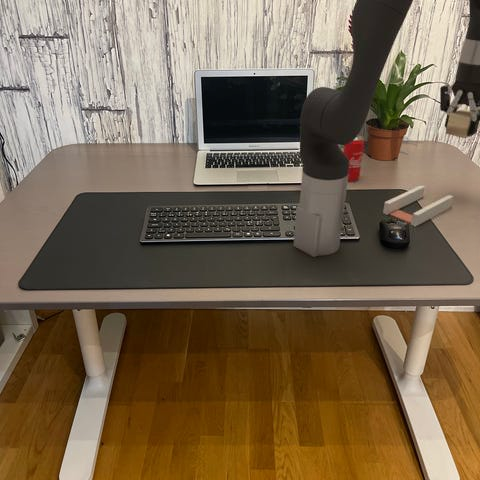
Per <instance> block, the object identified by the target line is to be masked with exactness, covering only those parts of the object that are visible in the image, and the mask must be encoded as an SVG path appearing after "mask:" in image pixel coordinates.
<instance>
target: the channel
mask: <svg viewBox="0 0 480 480" xmlns="http://www.w3.org/2000/svg"><path fill="white" fill-rule="evenodd" d="M425 190H426V186H424V185H418V186H416V187H414V188H413V189H410V190H407V191H406V192H404V193H401V194H399V195H398V196H395V197H393V198H391V199H388V200H386V201H384V206H383V211H382V214H384V215H386V216H387V215H389V216H390V217H393V218H396V219H398V220H401V221H403V222H405V223H407V224H410V226H412V227H417V226H419V225H420V224H423V223H425V222H426V221H429V220H430V219H432V218H433V217H435V216H437V215H439V214H441V213H443V212H445V211H446V210H448V209H450V208H451V206H452V202H453V199H454V196H453V195H450V194H448V195H445V196H444V197H442V198H440V199H438V200H437V201H434V202H433V203H431V204H429V205H426V206H425V207H423V208H421V209H419V210H417V211H415V212H413V213H412V214H410V213H408V212H406V211H402V210H400V209H401V208H404V207H406V206H408V205H410V204H412V203H414V202H416V201H418V200H419V199H421V198H424V194H425Z"/></svg>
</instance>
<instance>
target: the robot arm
mask: <svg viewBox="0 0 480 480" xmlns="http://www.w3.org/2000/svg"><path fill="white" fill-rule="evenodd" d="M413 1H414V0H355V3H354V6H353V9H352V13H351V25H350V26H351V40H352V41H351V42H352V53H353V54H352V63H351V67H350V71H349V73H348V76H347V80H346V81H345V83H344V87H343V89H342V90H339V89H334V88H331V87H326V86H319V87H316V88H314V89H313V90H311V91H310V93H308V95H307V96H306V97H305V100H304V102H303V104H302V109H301V114H300V120H299V123H300V124H299V156H300V160H301V162H302V172H301V185H300V197H299V206H297V207H296V210H295V220H294V221H295V222H294V235H293V247H295V248H297V249H298V250H299V251H303V252H304V253H306V254H308V255H309V256H311V257H313V258H316V257H318V256H329V255H332V254H334V253H337V251H338V250H339V249H340V243H341V235H342V227H343V219H344V211H345V203H346V197H347V188H348V183H349V181H348V174H349V166H350V162H349V159H348V157H347V156H346V155H345V154H344V151H343V150H342V149H341V148H340V146H344V145H346V144H349V143H350V142H352V141H353V140H354V139H355V138H356V137H357V135H359V134H360V133H361V130H362V129H363V127H364V125H365V122H366V121H367V117H368V116H369V112H370V109H371V106H372V103H373V100H374V96H375V94H376V91H377V88H378V84H379V82H380V79H381V75H382V73H383V71H384V68H385V66H386V63H387V61H388V59H389V55H390V54H391V51H392V49H393V46H394V44H395V41H396V39H397V37H398V35H399V32H400V30H401V28H402V26H403V25H404V23H405V20H406V18H407V15H408V13H409V11H410V9H411V6H412V3H413ZM468 2H469V3H468V5H469V8H468V9H469V21H468V26H467V29H466V33H465V38H464V41H463V45H462V46H461V51H460V56H459V60H458V65H457V69H456V74H455V78H454V79H455V80H454V82H453V84H452V85H449V84H445V85H442V86H440V92H439V93H440V94H439V95H440V98H439V99H440V104H439V106H440V108H439V109H440V111H441V112H444V113H445V114H446V118H445V122H444V128H445V130H446V129H447V124H448V120H449V116H450V113H453V112H456V111H459V109H460V107H461V106H463V105H464V106H467V107H469V111H470V112H471V116H472V121H470V125H469V129H468V133H467V136H470V137H472V136H475V135H476V134H475V133H476V132H477V133H478V130H477V129H479V127H478V125H479V126H480V123H479V122H480V0H468ZM451 94H453V96H454V98H453V99H452V101H451ZM474 134H475V135H474Z"/></svg>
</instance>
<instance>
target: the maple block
mask: <svg viewBox="0 0 480 480" xmlns="http://www.w3.org/2000/svg"><path fill="white" fill-rule="evenodd" d="M470 121H472V116H471V112H470V110H468V109H467V110H466V109H458V110H457V111H456V112H453V113H450V116H449V120H448V124H447V129H446V128H445V134H447V135H449V136H454V137H458V138H462V139H467V138H470V137H471V136H467V133H468V129H469V125H470ZM479 126H480V122H479V125H478V129H479ZM478 129H477V132H476V133H475V134H474V135H473V136H475V135H477V134H478Z"/></svg>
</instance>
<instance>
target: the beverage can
mask: <svg viewBox="0 0 480 480" xmlns="http://www.w3.org/2000/svg"><path fill="white" fill-rule="evenodd" d="M343 146H344V147H343V153H344V154H345V155H346V156H347V157H348V159H349V162H350V166H349V174H348V182H356V181H358V179H359V178H360V174H361V168H362V161H363V155H364V154H363V153H364V146H365V138H364V137H363V136H362V135H359V134H358V135H357V137H356V138H355V139H354V140H353V141H352V142H350V143H349V144H346V145H343Z"/></svg>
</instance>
